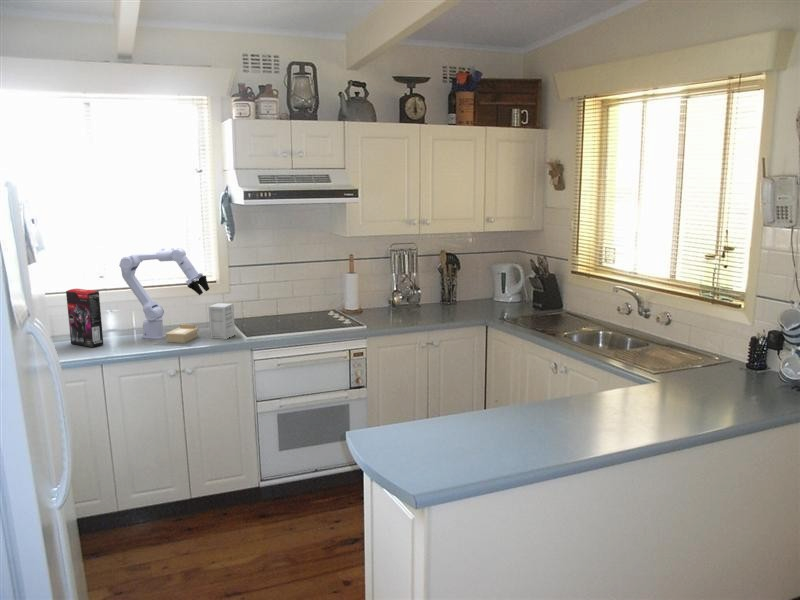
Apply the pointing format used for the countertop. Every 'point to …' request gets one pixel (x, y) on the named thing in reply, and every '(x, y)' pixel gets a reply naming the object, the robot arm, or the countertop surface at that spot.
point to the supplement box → (221, 320)
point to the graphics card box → (84, 317)
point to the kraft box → (181, 338)
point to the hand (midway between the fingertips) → (204, 292)
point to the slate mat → (189, 343)
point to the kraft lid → (183, 330)
